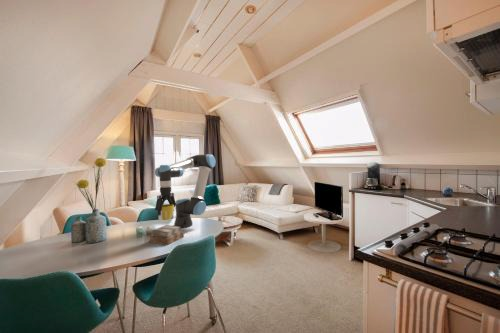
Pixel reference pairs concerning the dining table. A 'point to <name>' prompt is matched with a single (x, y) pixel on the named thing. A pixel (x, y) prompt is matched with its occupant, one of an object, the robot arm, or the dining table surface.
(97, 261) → the dining table surface
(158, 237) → the tower plinth
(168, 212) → the plant pot
